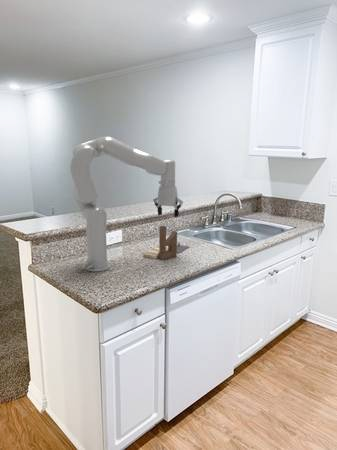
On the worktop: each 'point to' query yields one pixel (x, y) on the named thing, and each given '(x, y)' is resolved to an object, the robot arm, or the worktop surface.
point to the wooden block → (167, 244)
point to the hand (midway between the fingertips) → (168, 215)
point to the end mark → (181, 248)
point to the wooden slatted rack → (155, 252)
